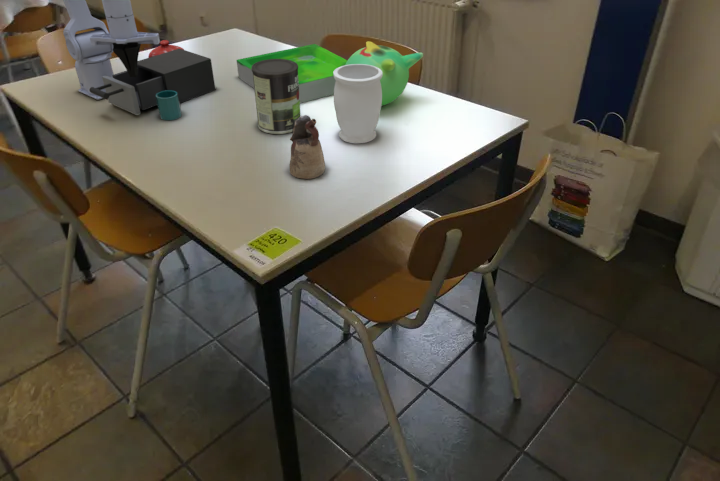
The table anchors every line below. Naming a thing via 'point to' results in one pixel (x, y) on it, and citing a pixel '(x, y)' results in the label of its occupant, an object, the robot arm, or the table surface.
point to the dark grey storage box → (182, 72)
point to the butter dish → (163, 48)
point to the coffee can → (276, 95)
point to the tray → (301, 69)
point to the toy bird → (387, 67)
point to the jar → (357, 101)
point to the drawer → (131, 90)
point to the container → (168, 105)
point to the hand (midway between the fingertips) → (133, 75)
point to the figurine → (306, 150)
